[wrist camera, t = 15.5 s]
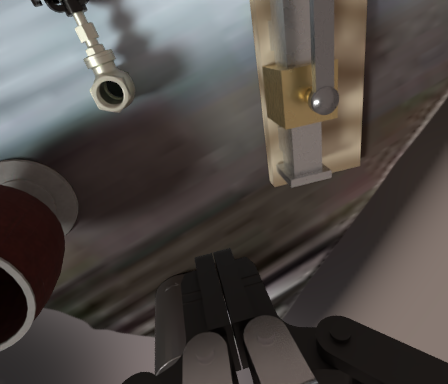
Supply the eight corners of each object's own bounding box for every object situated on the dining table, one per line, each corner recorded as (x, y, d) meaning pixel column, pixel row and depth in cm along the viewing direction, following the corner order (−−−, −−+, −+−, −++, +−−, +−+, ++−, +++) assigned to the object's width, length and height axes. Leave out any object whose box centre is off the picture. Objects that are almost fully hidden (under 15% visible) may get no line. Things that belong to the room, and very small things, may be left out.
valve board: (352, 160, 46) (360, 165, 44) (269, 181, 44) (274, 187, 43) (358, -55, 34) (369, -60, 32) (245, -35, 32) (251, -39, 31)
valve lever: (331, 108, 31) (340, 112, 29) (307, 114, 30) (315, 118, 29) (330, -114, 23) (343, -126, 21) (297, -109, 22) (308, -121, 21)
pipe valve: (314, 160, 42) (345, 184, 35) (272, 170, 42) (296, 197, 34) (308, -20, 32) (349, -37, 25) (254, -10, 32) (281, -25, 25)
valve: (152, 93, 36) (102, -24, 31) (151, 103, 30) (89, -39, 25) (100, 112, 36) (40, -1, 30) (89, 126, 30) (12, -11, 25)
